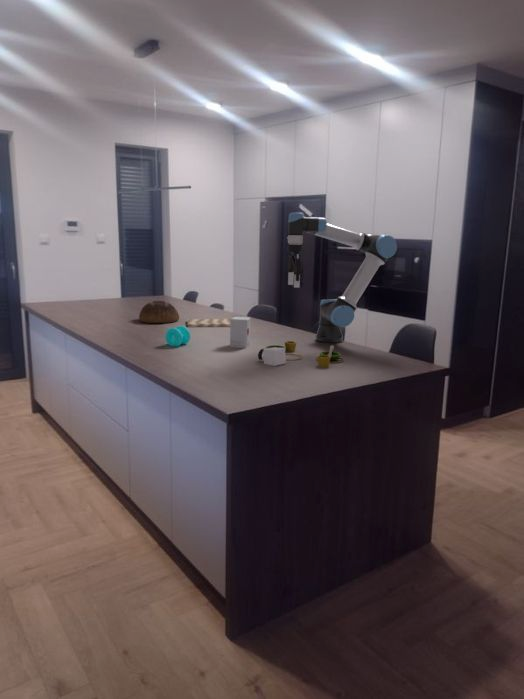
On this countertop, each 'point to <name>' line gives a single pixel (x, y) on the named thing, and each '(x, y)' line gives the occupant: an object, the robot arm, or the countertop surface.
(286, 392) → the countertop surface
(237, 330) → the supplement box
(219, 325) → the cutting board
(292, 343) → the tableware set
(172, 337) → the donuts
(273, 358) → the medicine bottle
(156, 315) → the bread
